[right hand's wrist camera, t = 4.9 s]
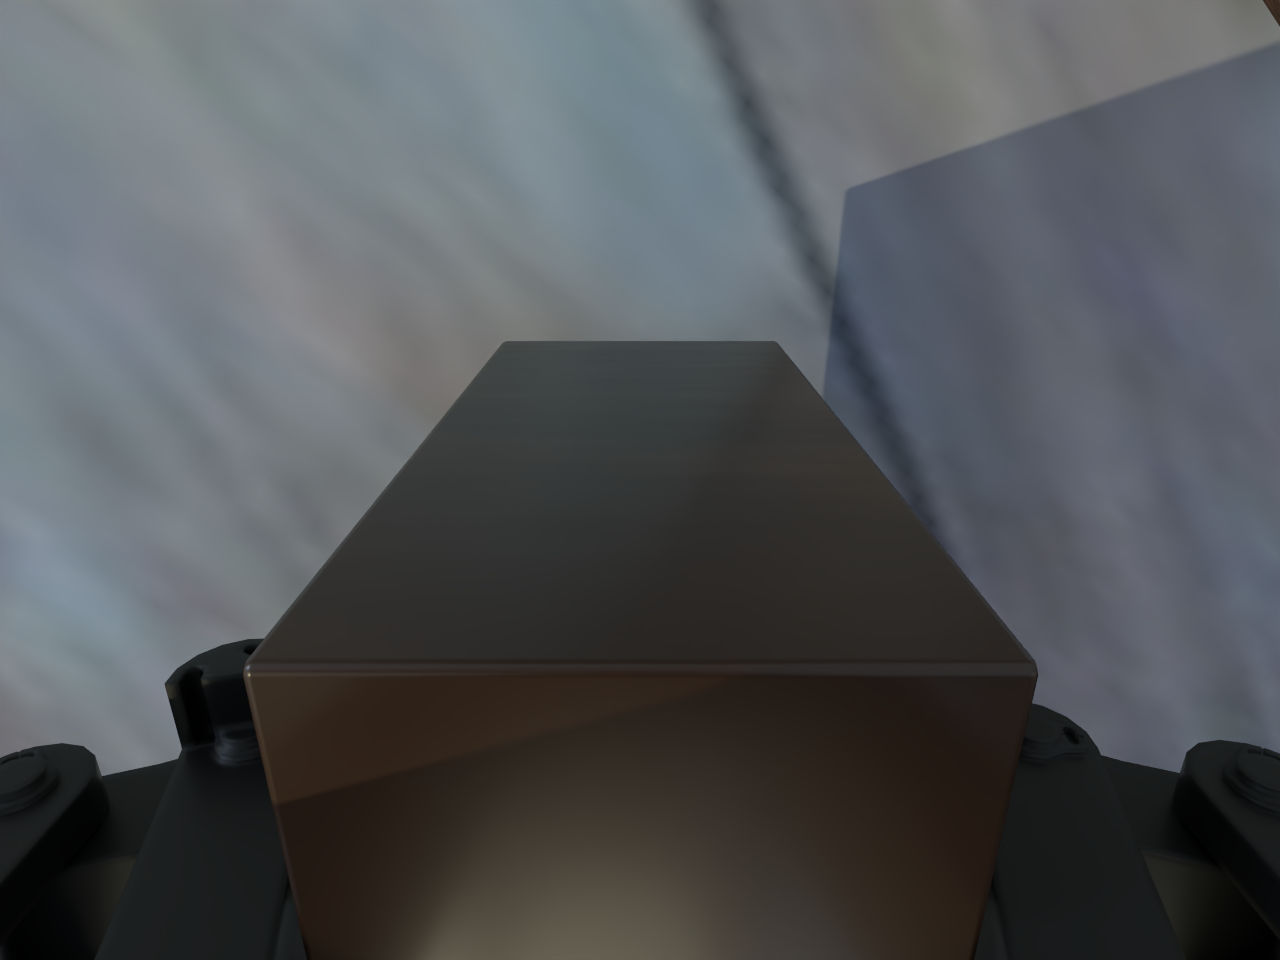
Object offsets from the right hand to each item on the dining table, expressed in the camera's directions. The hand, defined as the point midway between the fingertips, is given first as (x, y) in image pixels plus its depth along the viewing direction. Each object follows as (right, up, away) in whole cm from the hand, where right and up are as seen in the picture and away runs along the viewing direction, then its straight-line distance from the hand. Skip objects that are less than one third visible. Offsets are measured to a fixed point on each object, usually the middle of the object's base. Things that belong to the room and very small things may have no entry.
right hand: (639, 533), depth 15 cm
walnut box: (0, -8, +4) cm, 9 cm away
